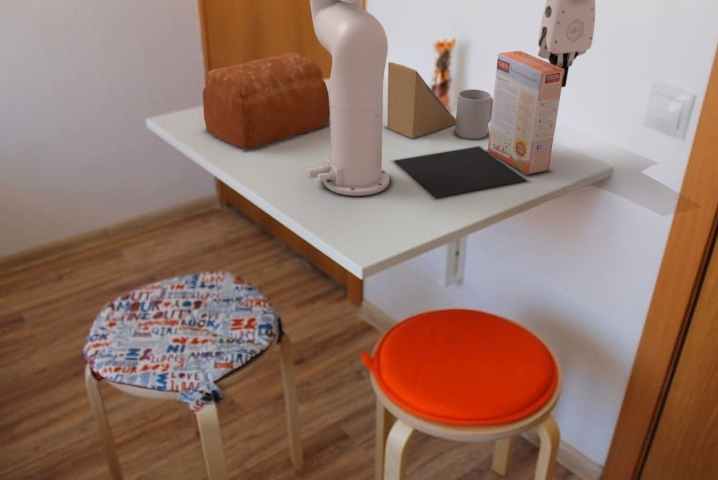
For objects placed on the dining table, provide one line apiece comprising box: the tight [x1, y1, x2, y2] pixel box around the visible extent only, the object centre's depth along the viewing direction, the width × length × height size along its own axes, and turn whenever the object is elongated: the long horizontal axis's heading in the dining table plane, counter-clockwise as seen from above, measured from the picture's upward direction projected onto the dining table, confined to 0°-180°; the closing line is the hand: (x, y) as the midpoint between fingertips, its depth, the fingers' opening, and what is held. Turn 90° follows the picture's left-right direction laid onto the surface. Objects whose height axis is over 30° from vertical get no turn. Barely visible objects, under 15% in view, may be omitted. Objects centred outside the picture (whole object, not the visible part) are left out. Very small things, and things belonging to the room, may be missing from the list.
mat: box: [394, 146, 527, 199], centre depth 144 cm, size 20×18×1 cm
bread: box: [202, 51, 330, 149], centre depth 156 cm, size 17×24×15 cm
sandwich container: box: [387, 61, 456, 139], centre depth 161 cm, size 9×15×15 cm, turn 135°
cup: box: [454, 88, 493, 140], centre depth 160 cm, size 7×10×9 cm
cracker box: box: [487, 50, 564, 175], centre depth 144 cm, size 14×6×21 cm, turn 30°
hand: (557, 85), depth 144 cm, fingers closed
